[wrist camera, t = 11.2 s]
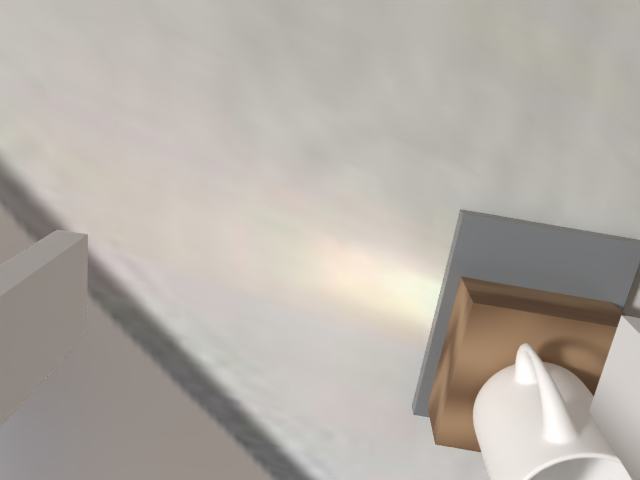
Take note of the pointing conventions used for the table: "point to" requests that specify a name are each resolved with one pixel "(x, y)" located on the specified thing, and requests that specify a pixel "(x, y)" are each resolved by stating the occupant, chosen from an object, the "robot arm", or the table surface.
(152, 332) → the table surface
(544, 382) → the mug
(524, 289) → the walnut block
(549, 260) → the slate tile
